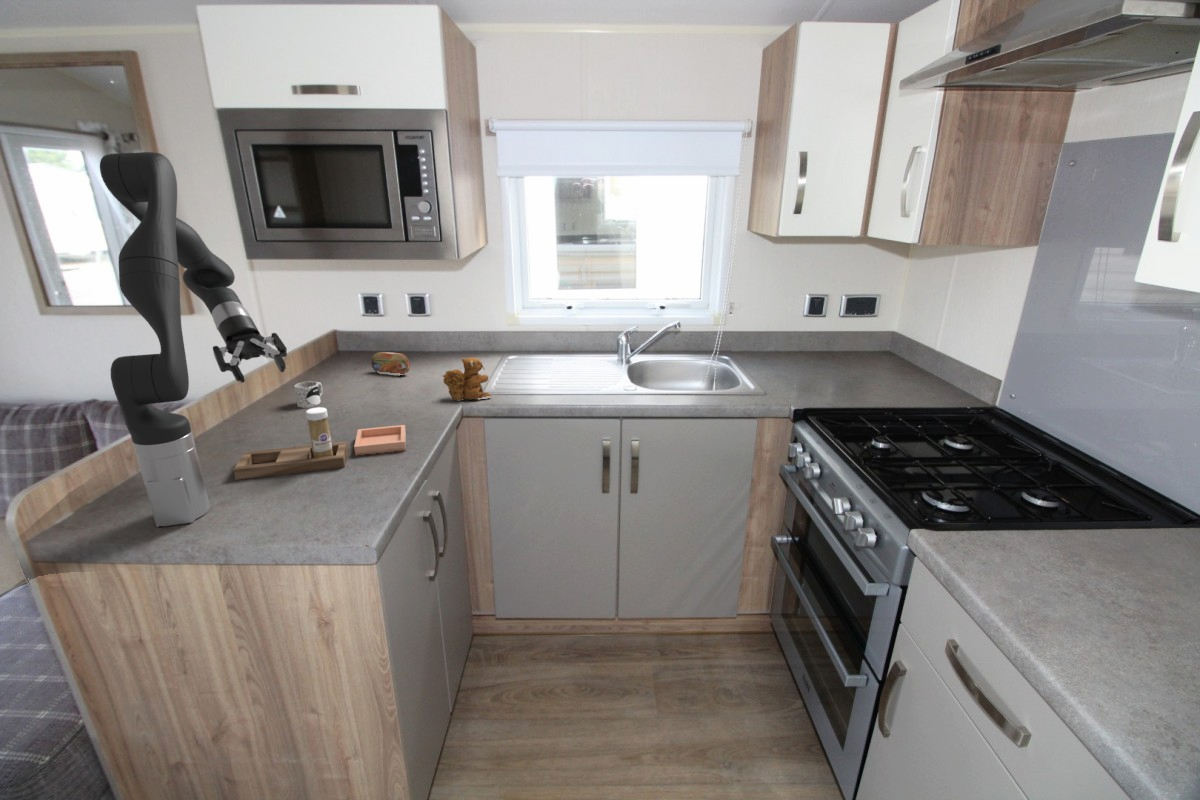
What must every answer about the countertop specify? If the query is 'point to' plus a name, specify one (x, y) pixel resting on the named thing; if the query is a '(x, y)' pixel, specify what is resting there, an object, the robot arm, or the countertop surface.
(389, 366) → the tin
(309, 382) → the mug
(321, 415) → the sprinkles bottle
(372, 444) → the terracotta tray
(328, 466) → the walnut rack
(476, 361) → the stuffed squirrel
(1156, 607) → the countertop surface
